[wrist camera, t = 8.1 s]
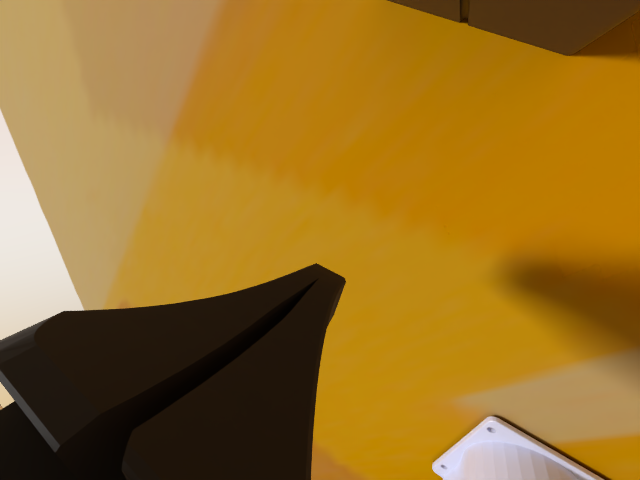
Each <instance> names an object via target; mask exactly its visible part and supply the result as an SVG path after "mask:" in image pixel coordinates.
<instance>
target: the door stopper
mask: <svg viewBox="0 0 640 480" xmlns="http://www.w3.org/2000/svg"><path fill="white" fill-rule="evenodd" d="M388 1H391V2H394V3H398V4H401V5H404V6H407V7H410V8H414V9H417V10H420V11H423V12H427V13H430V14H433V15H436V16H440V17H443V18H446V19H449V20H453V21H456V22H459V23H460V21H461V20H462V19H464V18H467V19H468V25H469V26H472V27H475V28H479V29H482V30H485V31H488V32H492V33H495V34H498V35H501V36H505V37H508V38H511V39H514V40H518V41H521V42H524V43H527V44H530V45H534V46H537V47H540V48H543V49H547V50H550V51H553V52H556V53H560V54H563V55H572V54H574V53H576V52H578V51H579V50H581V49H582V48H584V47H585V46H587V45H588V44H590V43H591V42H593V41H595V40H596V39H598V38H599V37H601V36H602V35H604V34H605V33H607V32H608V31H610V30H611V29H613V28H614V27H616V26H617V25H619V24H620V23H622V22H623V21H625V20H626V19H628V18H630V17H631V16H633V15H634V14H636V13H637V12H639V11H640V0H388Z"/></svg>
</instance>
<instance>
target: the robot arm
mask: <svg viewBox="0 0 640 480" xmlns="http://www.w3.org/2000/svg"><path fill="white" fill-rule="evenodd" d="M345 283H346V281H345V278H344V277H342V276H340V275H338V274H336V273H334V272H332V271H330V270H328V269H326V268H324V267H322V266H321V265H319V264H317V263H316V264H313V265H311V266H308V267H306V268H303V269H301V270H298V271H296V272H293V273H291V274H288V275H285V276H283V277H280V278H277V279H275V280H272V281H269V282H266V283H263V284H260V285H257V286H254V287H250V288H247V289H244V290H240V291H237V292H233V293H229V294H224V295H220V296H216V297H211V298H205V299H199V300H193V301H187V302H181V303H175V304H167V305H158V306H149V307H138V308H126V309H108V310H85V311H63V312H61V313H59V314H57V315H55V316H52V317H50V318H48V319H46V320H44V321H41V322H39V323H37V324H35V325H33V326H31V327H28V328H26V329H24V330H22V331H20V332H17V333H15V334H13V335H11V336H9V337H7V338H5V339H2V340H0V382H1V383H2V385H3V386H4V387H5V389H6V390H7V391H8V392H9V394H10V395H11V396H12V398H13V399H14V400H15V401H14V402H13V403H11V404H9V405H8V406H6V407H5V408H2V406H1V405H0V480H311V461H312V442H313V426H314V415H315V403H316V391H317V383H318V375H319V367H320V361H321V354H322V348H323V343H324V338H325V333H326V329H327V326H328V324H329V322H330V321H331V319H332V317H333V315H334V313H335V310H336V307H337V305H338V302H339V299H340V296H341V294H342V291H343V288H344V285H345ZM432 469H433V471H434V472H435V473H437V474H438V475H439V476H441V477H442V478H443V480H604V479H602V478H601V477H599V476H597V475H595V474H594V473H592V472H590V471H589V470H587V469H585V468H583V467H582V466H580V465H578V464H576V463H575V462H573V461H571V460H570V459H568V458H566V457H564V456H563V455H561V454H559V453H558V452H556V451H554V450H552V449H551V448H549V447H547V446H545V445H544V444H542V443H540V442H539V441H537V440H535V439H533V438H532V437H530V436H528V435H526V434H525V433H523V432H521V431H520V430H518V429H516V428H514V427H513V426H511V425H509V424H508V423H506V422H504V421H502V420H501V419H499V418H497V417H493V416H490V417H487V418H486V419H485V420H484V421H482V422H481V423H480V424H479V425H478V426H477V427H475V428H474V429H473V430H472V431H471V432H469V433H468V434H467V435H466V436H465V437H463V438H462V439H461V440H460V441H459V442H457V443H456V444H455V445H454V446H453V447H451V448H450V449H449V450H448V451H447V452H446V453H444V454H443V455H442V456H441V457H440V458H438V459H437V460H436V461H435V462H434V463H433V465H432Z"/></svg>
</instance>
